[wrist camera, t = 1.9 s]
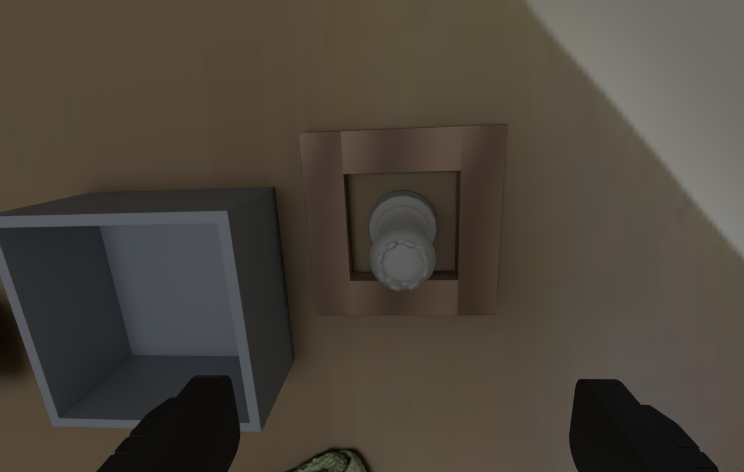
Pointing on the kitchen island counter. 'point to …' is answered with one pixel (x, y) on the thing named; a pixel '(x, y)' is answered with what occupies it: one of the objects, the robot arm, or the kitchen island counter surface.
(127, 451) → the robot arm
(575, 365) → the kitchen island counter surface
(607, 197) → the kitchen island counter surface
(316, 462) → the washcloth
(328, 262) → the socket block
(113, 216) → the bin
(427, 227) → the rook chess piece
